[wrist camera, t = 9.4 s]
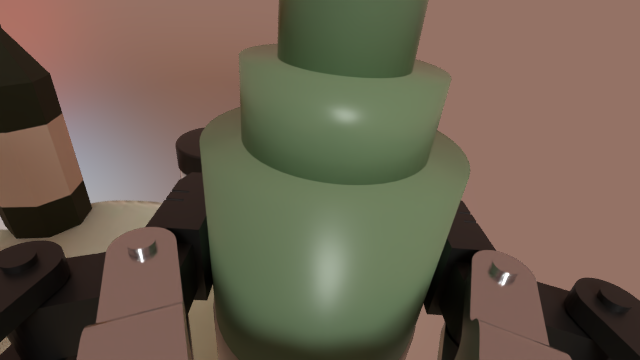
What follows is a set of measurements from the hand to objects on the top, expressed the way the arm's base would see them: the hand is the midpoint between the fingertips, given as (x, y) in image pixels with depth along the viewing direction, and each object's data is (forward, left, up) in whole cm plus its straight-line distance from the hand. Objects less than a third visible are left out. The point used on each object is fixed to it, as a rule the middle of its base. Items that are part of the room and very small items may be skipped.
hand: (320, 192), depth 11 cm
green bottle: (+1, -2, -11) cm, 11 cm away
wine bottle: (-38, +5, -21) cm, 44 cm away
